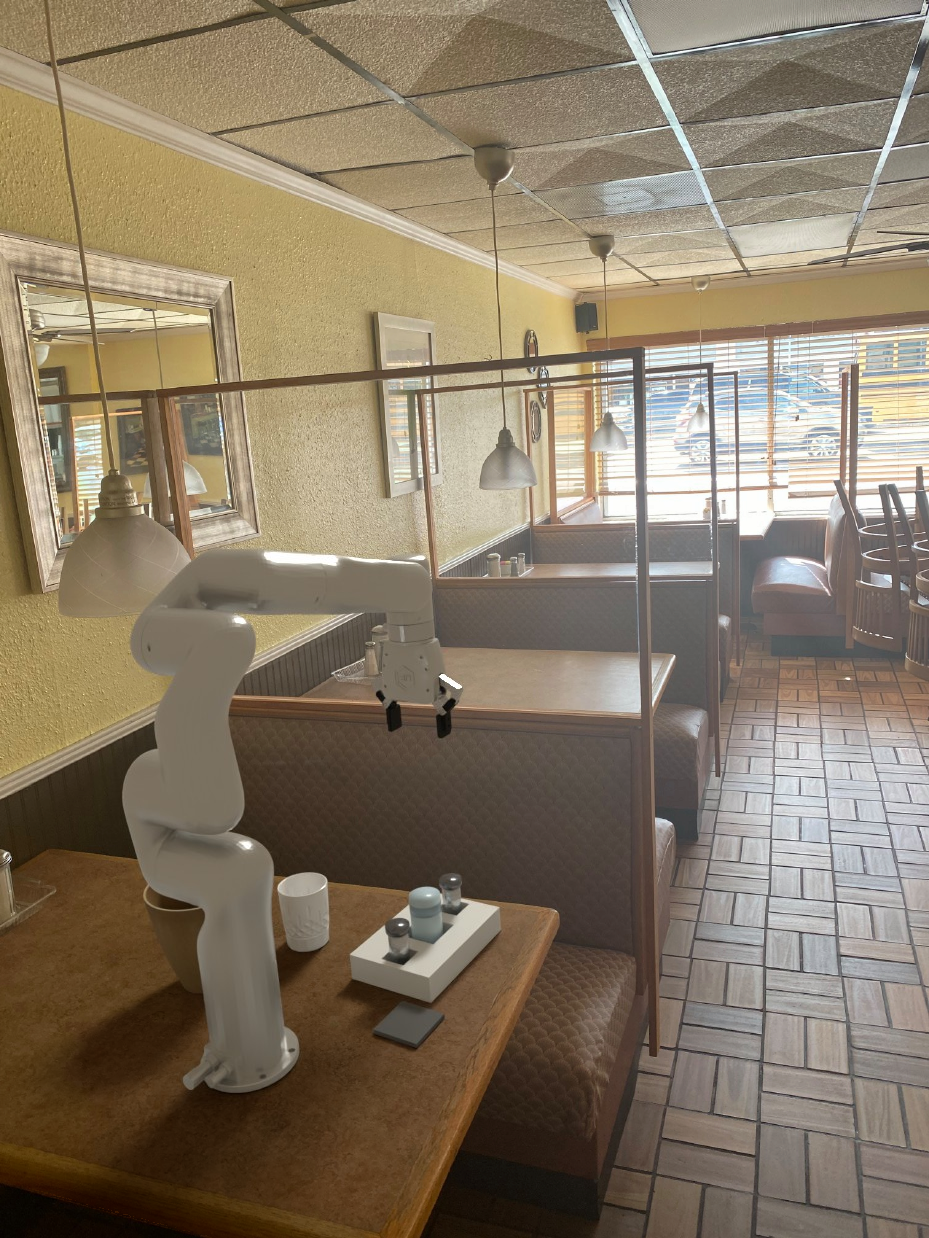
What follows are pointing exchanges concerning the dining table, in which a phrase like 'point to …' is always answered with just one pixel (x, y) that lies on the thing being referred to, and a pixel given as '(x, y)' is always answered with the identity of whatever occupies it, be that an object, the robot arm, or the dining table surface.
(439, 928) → the cylinder
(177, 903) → the plant pot
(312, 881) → the white cup
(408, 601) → the robot arm
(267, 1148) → the dining table surface
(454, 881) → the dark capped shaker
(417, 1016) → the mat
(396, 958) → the grey dome-capped cylinder
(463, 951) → the housing
